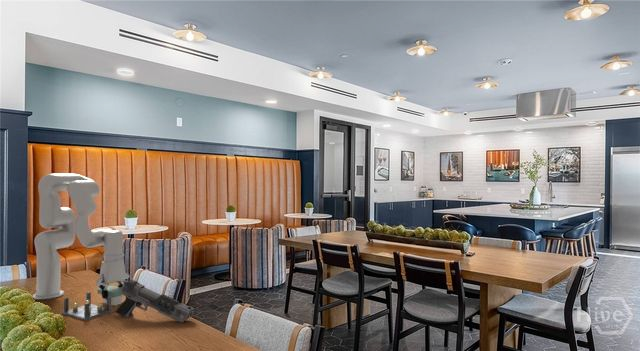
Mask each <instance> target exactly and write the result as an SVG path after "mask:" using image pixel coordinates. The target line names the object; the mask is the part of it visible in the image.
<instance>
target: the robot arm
mask: <svg viewBox="0 0 640 351" xmlns="http://www.w3.org/2000/svg"><path fill="white" fill-rule="evenodd" d="M37 187H38V194H39V213H38V214H39V216H38V217H39V218H38V220H39V221H38V223H39V225H40V226H41V227H42V228H45V229H49V230H44V231H42V232H39V233H37V235H36V236H35V238H34V239H33V240H34V241H33V243H34V247H35V252H36V287H35V290H36V292H35V293H34V294H32V297H33V298H34V299H33V298H32V299H33V300H49V299H50V300H51V299H56V298H59V297H61V296H62V297H63V295H64V294H65V291H64V290H62V289H61V265H62V264H61V263H62V262H61V255H60V254H59V252H58V251H57V250H59V249H65V248H69V247H71V246H72V245H73V244H74V241H75V240H76V236H77V238H78V241H79V242H80V244H81V245H82V246H83V247H85V248H87V249H88V248H95V247H101V246H103V250H104V251H103V260H102V261H101V265H100V271H99V278H98V279H97V280H96V281H95V285H96V286H97V287H98V289H101V290H102V294H101V298H102V299H103V298H104V299H107V297H108V290H107V287H108V286H110V284H113V283H118V285H117V287H121V288H122V286H123V285H124V282H123V281H124V280H126V281H128V279H129V278H130V276H131V275H130V274H128V273H127V272H126V267H125V266H126V265H125V259H123V257H124V256H125V253H124V252H123V242H124V241H123V237H124V236H123V231H122V230H120V229H119V230H118V229H109V228H102V229H101V228H100V229H95V230H91V228H90V225H89V222H88V220H89V217H90V216H91V215H93V213H95V212H96V211H97V210H98V206H97V204H96V201H95V199H94V197H95V198H96V197H97V196H98V195H99V194H100V192H101V190H100V185H99V183H98V182H96V181H95V180H93V179H91V178H89V177H86V176H83V175H81V174H77V173H48V174H46V175H44V176H42V177H41V178H40V179H39V182H38V186H37ZM58 192H67V194H68V196H69V198H70V200H71V203H72V204H73V206H74V209H75V211H76V213H77V215H76V213H75V212H74V210H73V209H72V208H70V207H67V206H66V207H65V206H63V207H62V205H61V204H62V199H61V197H60V195H59V193H58ZM52 228H58V229H52Z"/></svg>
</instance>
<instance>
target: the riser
mask: <svg viewBox="0 0 640 351" xmlns="http://www.w3.org/2000/svg"><path fill="white" fill-rule="evenodd" d="M108 297H111V296H108ZM102 301H103V302H102V304H105V303H106V304H105V305H107V299H104V298H102ZM121 303H123V295H121V296H117V297H111V306H113V305H114V307H115V306H118V304H119V305H121Z"/></svg>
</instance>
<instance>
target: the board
mask: <svg viewBox="0 0 640 351" xmlns="http://www.w3.org/2000/svg"><path fill="white" fill-rule="evenodd" d="M107 290H108V296H111V297H117V296H121V295H122V296H124V295H123V294H122V292H121V290H122V288H121V287H118V285H117V286H115V285H108V287H107ZM97 294H99V295H102V290H101V289H100V288H97Z"/></svg>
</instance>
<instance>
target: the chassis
mask: <svg viewBox="0 0 640 351" xmlns="http://www.w3.org/2000/svg"><path fill="white" fill-rule="evenodd" d="M91 294H92V292H91V291H88V292H86V296H85V297H86V300H84V305H81V306H79V303H78V302H75V303H72V308H71V309H69V299H70V298H69V297H64V298H63V311H62V312H61V315H64V316H68V317H72V318H75V319H78V320H81V321H88V320H92V319H94V318H98V317H101V316H104V314H105V315H108V314H111V313H113V311H114V310H113V309H112V305H111V297H107V304H106V307H104V306H103V302H98V303H97V305H96V304H92V303H91V302H92V301H91V300H92V295H91Z"/></svg>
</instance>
